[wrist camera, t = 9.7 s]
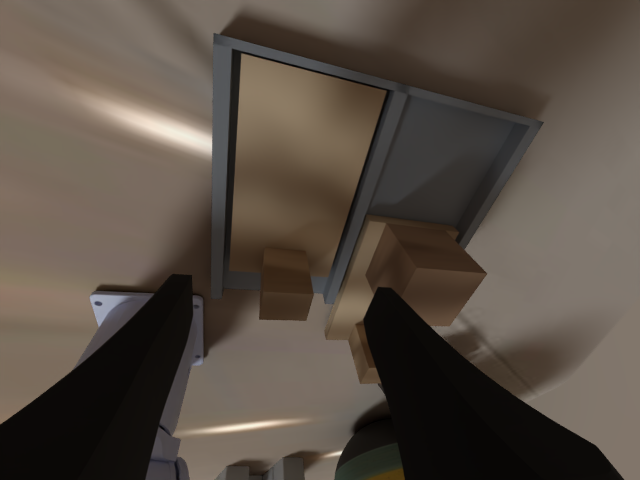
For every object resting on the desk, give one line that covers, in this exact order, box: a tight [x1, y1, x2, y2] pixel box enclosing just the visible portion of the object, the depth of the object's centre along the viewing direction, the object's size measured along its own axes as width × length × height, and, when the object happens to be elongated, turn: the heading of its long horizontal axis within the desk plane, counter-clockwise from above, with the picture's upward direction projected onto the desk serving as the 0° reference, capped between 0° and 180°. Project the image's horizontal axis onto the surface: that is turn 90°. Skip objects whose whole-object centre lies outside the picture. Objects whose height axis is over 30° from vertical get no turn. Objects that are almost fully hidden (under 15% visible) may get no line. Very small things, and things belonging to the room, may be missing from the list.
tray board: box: [211, 33, 544, 304], centre depth 20 cm, size 17×20×2 cm
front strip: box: [229, 53, 387, 321], centre depth 16 cm, size 14×8×5 cm, turn 167°
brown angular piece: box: [324, 214, 459, 384], centre depth 23 cm, size 14×8×5 cm, turn 167°
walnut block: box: [365, 223, 487, 326], centre depth 20 cm, size 5×5×5 cm
